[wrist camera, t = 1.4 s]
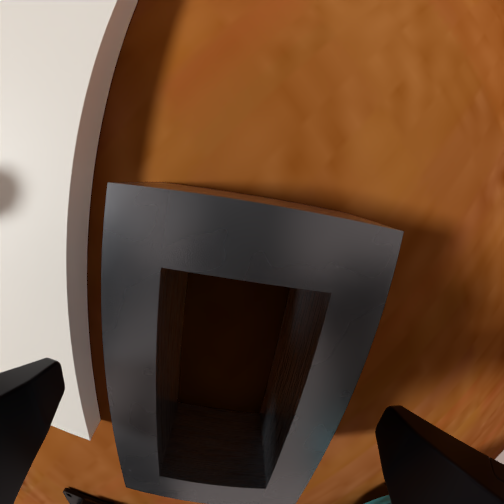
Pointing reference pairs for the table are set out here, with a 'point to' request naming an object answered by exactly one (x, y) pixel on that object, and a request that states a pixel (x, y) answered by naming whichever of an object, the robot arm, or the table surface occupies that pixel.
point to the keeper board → (52, 183)
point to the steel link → (287, 350)
